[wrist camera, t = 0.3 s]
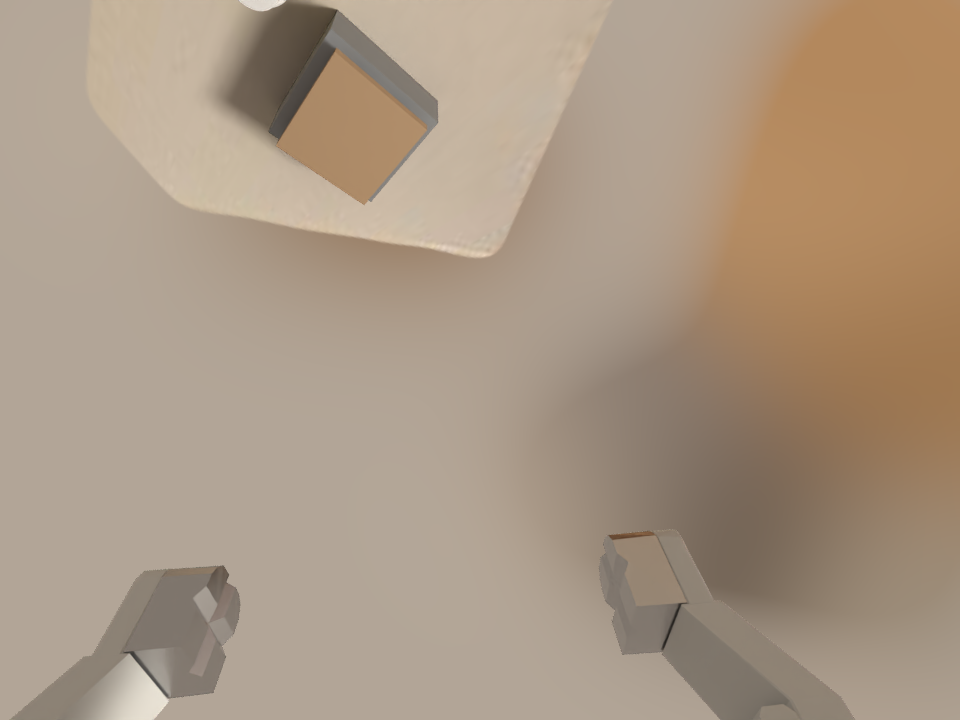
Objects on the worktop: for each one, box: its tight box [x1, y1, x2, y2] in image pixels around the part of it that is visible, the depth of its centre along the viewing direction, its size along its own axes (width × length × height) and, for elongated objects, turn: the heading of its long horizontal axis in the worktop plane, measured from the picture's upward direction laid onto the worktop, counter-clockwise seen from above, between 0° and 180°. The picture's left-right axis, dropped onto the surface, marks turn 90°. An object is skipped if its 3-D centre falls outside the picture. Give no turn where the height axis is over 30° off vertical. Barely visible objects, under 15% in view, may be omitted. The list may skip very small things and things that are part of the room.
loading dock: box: [269, 10, 438, 205], centre depth 49 cm, size 12×12×7 cm
